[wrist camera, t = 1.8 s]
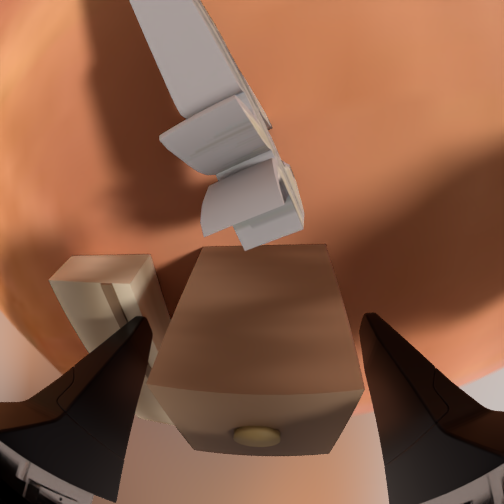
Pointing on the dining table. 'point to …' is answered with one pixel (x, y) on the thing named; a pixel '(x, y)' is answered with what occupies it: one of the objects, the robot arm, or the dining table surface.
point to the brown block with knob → (259, 353)
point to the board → (114, 307)
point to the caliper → (220, 126)
